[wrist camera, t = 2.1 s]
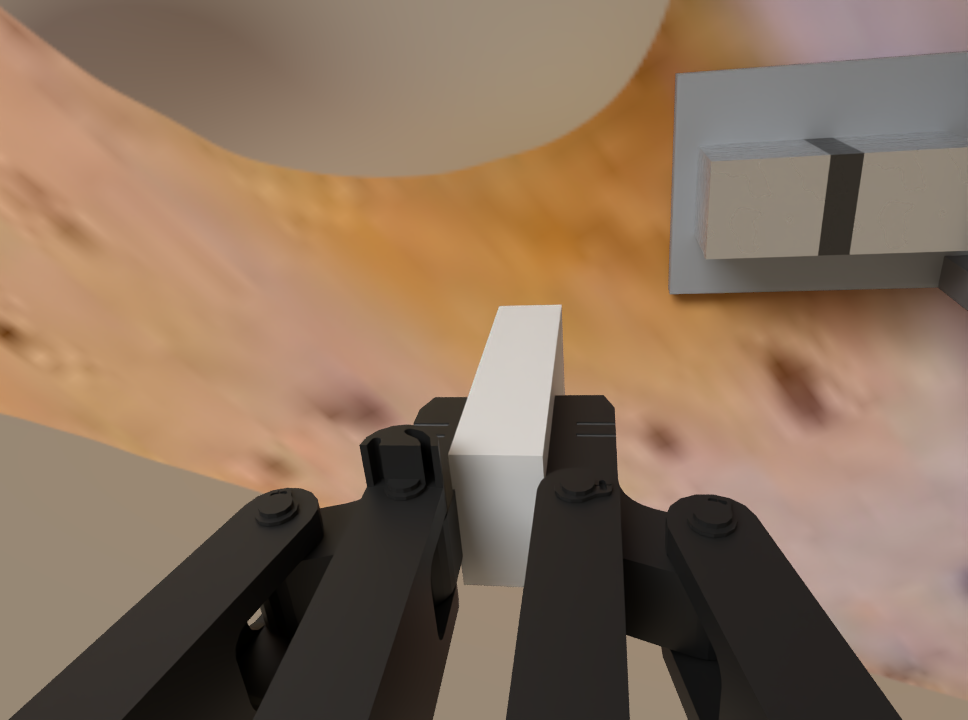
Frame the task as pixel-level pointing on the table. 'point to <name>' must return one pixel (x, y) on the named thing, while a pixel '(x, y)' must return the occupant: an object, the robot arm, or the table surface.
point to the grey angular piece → (810, 115)
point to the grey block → (833, 196)
